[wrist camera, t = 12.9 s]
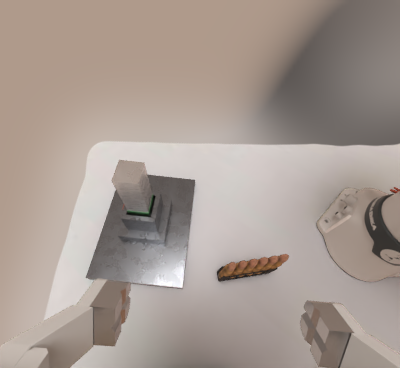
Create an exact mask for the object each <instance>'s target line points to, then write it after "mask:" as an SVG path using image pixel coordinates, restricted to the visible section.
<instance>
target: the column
mask: <svg viewBox="0 0 400 368" xmlns="http://www.w3.org/2000/svg"><path fill="white" fill-rule="evenodd" d="M112 183H113V185H114V187H115V188H116V190H117V192H118V194H119V196H120V198H121V199H122V201H123V203H124V205H125V207H126V209H127V210H128V213H129V214H130V215H133V216H142V217H151V215H152V210H153V206H154V197H153V194H152V190H151V187H150V183H149V179H148V175H147V171H146V168H145V164H144V163H142V162H133V161H124V160H119V162H118V165H117V167H116V170H115V173H114V176H113V178H112Z"/></svg>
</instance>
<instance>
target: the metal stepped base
mask: <svg viewBox="0 0 400 368" xmlns="http://www.w3.org/2000/svg"><path fill="white" fill-rule="evenodd" d="M148 179H149V183H150V187H151V190H152V194H153V197H154V206H153V210H152V215H151V217H142V216H133V215H130V214H129V213H128V210H127V209H126V207H125V205H124V203H123V201H122V199H121V198H120V196H119V194H118V192H117V190H116V191H115V194H114V197H113V200H112V203H111V206H110V209H109V212H108V214H107V217H106V220H105V223H104V226H103V229H102V232H101V235H100V238H99V241H98V244H97V247H96V250H95V252H94V255H93V258H92V261H91V264H90V267H89V270H88V273H87V276H86V278H88V279H95V280H96V279H98V278H99V279H107V280H116V281H124V282H130V283H133V284H143V285H153V286H162V287H172V288H181V289H182V287H183V279H184V270H185V262H186V254H187V245H188V237H189V228H190V220H191V211H192V203H193V195H194V186H195V180H190V179H181V178H172V177H163V176H154V175H148Z"/></svg>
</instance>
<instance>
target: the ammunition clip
mask: <svg viewBox="0 0 400 368" xmlns="http://www.w3.org/2000/svg"><path fill="white" fill-rule="evenodd" d="M288 258H289V255H287V254H283V255H280V256H272V257H269V258H266V257H264V258H261V259H259V260H257V259H252V260H250V261H247V262H246V261H240V262H239V263H236V264H235V263H234V262H231V263H229V264H227V265H226V266H224V267H221V268H220V269H219V270H218V271H217V275H218V281H225V280H231V279H237V278H243V277H250V276H256V275H262V274H268V273H270V272H272V271H274V270H276V269H277V267H279V266H281V265H282V263H284V262H285V261H287V259H288Z"/></svg>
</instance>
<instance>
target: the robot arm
mask: <svg viewBox="0 0 400 368" xmlns="http://www.w3.org/2000/svg"><path fill="white" fill-rule="evenodd" d="M394 189H396V190H397V191H396V190H392V189H391V190H390V191H392V192H393V193H395V194H390V195H389V194H387V193H384V192H382V191H380V190H377V189H373V188H364V189H362V190H357V189H353V188H346V189H344V190H343V191H342V192H341V193H340V195H339V196H338V197H337V198H336V199H335V201H334V202H333V203H332V204H331V206H330V207H329V208H328V209H327V210H326V212H325V213H324V214H323V215H322V217H321V218H320V219H319V220H318V221H317V227H318V229H319V230H320V232H321V233H322V235H323V236H324V239H325V242H326V246H327V249H328V251H329V253H330V255H331V256H332V258H333V259H334V261H335V262H336V263H337V264H338V265H339V266H340V267H341V268H342V269H343V270H344V271H345V272H347V273H348V274H349V275H351V276H353V277H355V278H357V279H360V280H363V281H368V282H376V281H380V280H382V279H384V278H386V277H389V276H390V277H400V189H398V188H395V187H394ZM325 221H326V222H325ZM130 290H131V283H130V282H124V281H116V280H107V279H99V278H98V279H96V280H95V281H94V282H93V283H92V285H91V286H90V287H89V289H88V290H87V291H86V293H85V294H84V295H83V297H82V298H81V299H80V301H79V302H78V303H77V305H72V306H70V307H68V308H66V309H65V310H63V311H61V312H59V313H57V314H56V315H54V316H52V317H50V318H48V319H47V320H45V321H43V322H41V323H40V324H38V325H36V326H34V327H32V328H30V329H29V330H27V331H25V332H23V333H21V334H19V335H18V336H16V337H14V338H12V339H10V340H9V341H7V342H5V343H4V344H3V345H2V346H1V347H0V368H70V367H71V366H72V365H73V364H74V363H75V362H77V361H78V360H79V359H80V358H81V357H82V356H83V355H84V354H85V353H86V352H88V351H89V350H90V349H91V348H92V347H93V345H103V346H115V344H116V342H117V340H118V337H119V335H120V332H121V324H123V323H124V322H125V320H126V318H127V315H128V311H129V307H130V297H129V296H128V295H129V292H130ZM304 309H305V311H306V312H305V313H304V314H303V315H302V316H301V321H300V326H301V331H302V335H303V337H304V339H305V340H306V341H307V342H308V343H309V344H310V345H311V348H310V351H311V353H312V355H313V357H314V359H315V361H316V363H317V365H318V367H326V368H400V354H399V353H397V352H396V351H394V350H393V349H391V348H390V347H388V346H387V345H385V344H384V343H382V342H381V341H379V340H378V339H376V338H375V337H373V336H372V335H367V333H366V332H365V331H364V330H363V329H362V327H361V326H360V325H359V324H358V322H357V321H356V320H355V319H354V318H353V316H352V315H351V314H350V313H349V312H348V310H347V309H346V308H345V307H344V305H342V304H341V303H332V302H329V303H328V302H318V301H308V300H307V301H306V302H305V305H304Z"/></svg>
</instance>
